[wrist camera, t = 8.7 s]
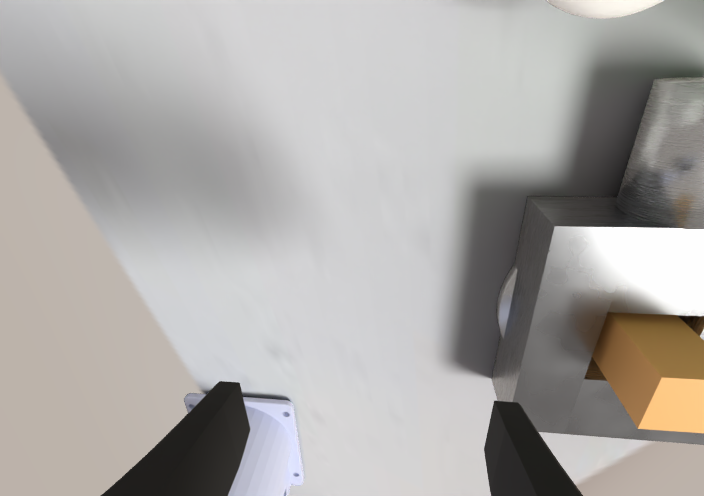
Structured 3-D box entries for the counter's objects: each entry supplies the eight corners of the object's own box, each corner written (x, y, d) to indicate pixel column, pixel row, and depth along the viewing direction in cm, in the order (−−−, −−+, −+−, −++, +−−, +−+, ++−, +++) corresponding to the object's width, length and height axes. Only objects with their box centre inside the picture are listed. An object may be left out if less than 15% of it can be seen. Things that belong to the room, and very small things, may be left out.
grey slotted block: (675, 390, 22) (722, 448, 19) (483, 378, 23) (496, 430, 20) (841, 73, 14) (969, 78, 11) (537, 81, 15) (573, 88, 12)
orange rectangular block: (648, 288, 18) (748, 382, 13) (631, 332, 20) (715, 434, 14) (588, 286, 19) (661, 377, 13) (575, 330, 20) (637, 428, 15)
